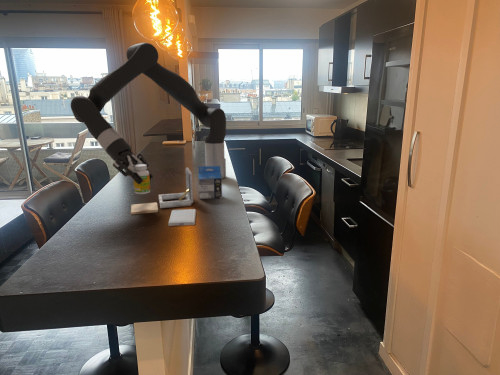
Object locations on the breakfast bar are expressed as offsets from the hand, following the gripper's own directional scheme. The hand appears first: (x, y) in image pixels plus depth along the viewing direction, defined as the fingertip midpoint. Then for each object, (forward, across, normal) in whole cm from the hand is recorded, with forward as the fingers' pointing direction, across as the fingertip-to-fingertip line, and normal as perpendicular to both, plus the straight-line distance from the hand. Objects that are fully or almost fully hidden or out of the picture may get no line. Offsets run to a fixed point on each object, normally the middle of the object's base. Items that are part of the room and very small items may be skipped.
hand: (146, 180), depth 121 cm
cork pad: (+6, 0, +9) cm, 11 cm away
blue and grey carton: (+18, +21, -3) cm, 28 cm away
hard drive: (+19, -4, -3) cm, 20 cm away
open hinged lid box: (+11, +10, +4) cm, 16 cm away
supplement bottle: (+2, 0, +5) cm, 5 cm away
